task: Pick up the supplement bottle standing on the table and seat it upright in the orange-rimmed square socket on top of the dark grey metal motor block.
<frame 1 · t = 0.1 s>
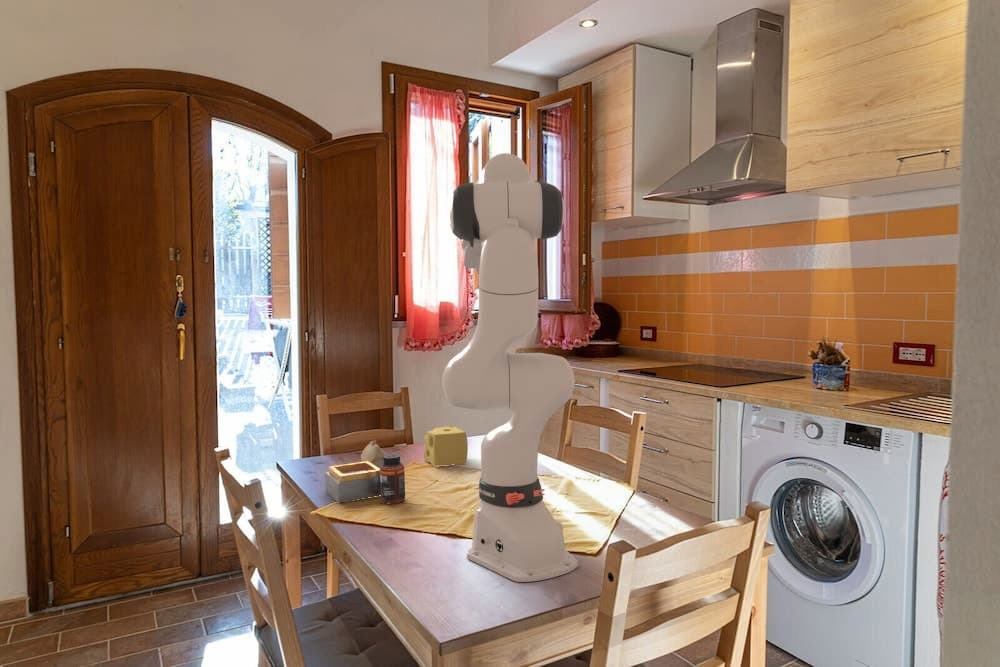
hand: (500, 280, 182), 54 cm above the table, tool tilted 30°, fingers open, 8 cm apart
motor block: (355, 493, 167), on the table
cheese: (445, 463, 197), on the table
supplement bottle: (393, 502, 160), on the table
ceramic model: (374, 476, 184), on the table
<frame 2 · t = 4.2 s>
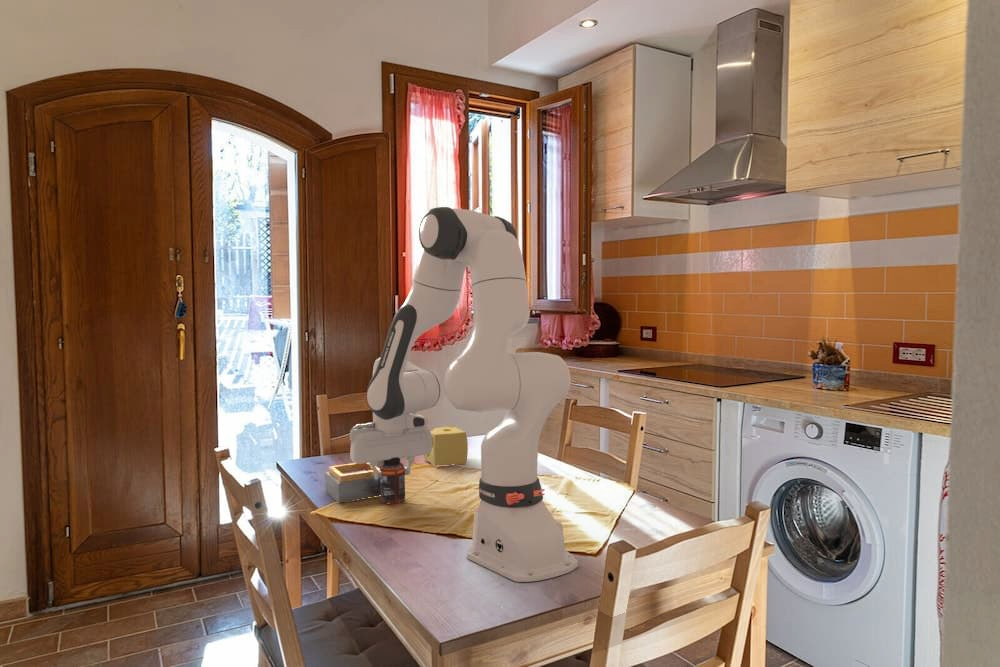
hand: (392, 476, 160), 6 cm above the table, tool pointing down, fingers closed on supplement bottle, 6 cm apart
supplement bottle: (393, 501, 160), on the table, touching gripper
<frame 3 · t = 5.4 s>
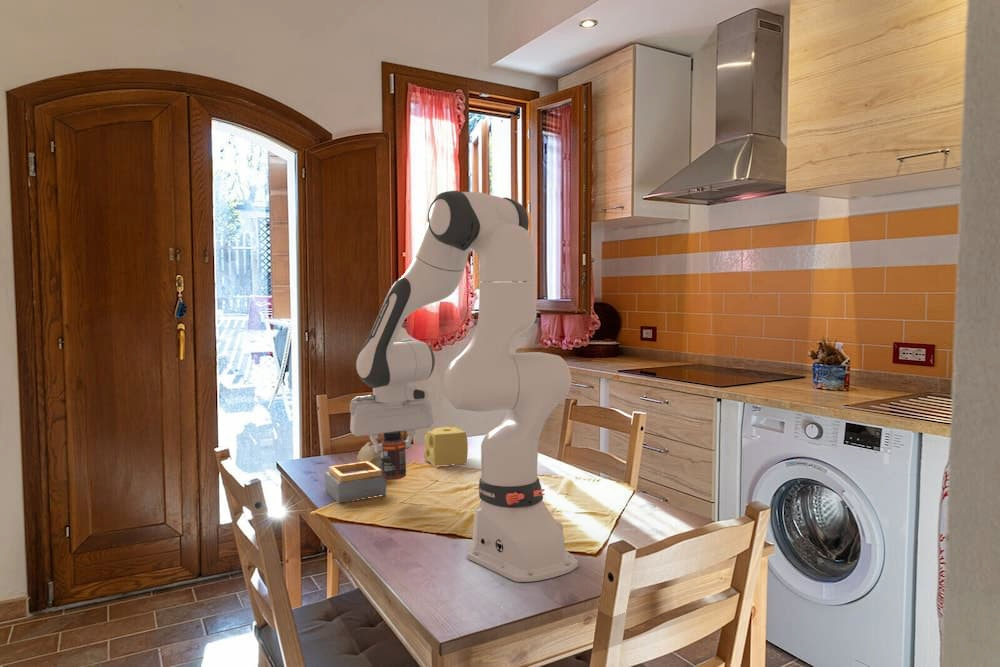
hand: (393, 450, 159), 13 cm above the table, tool pointing down, fingers closed on supplement bottle, 6 cm apart
supplement bottle: (393, 478, 159), point 6 cm above the table, touching gripper
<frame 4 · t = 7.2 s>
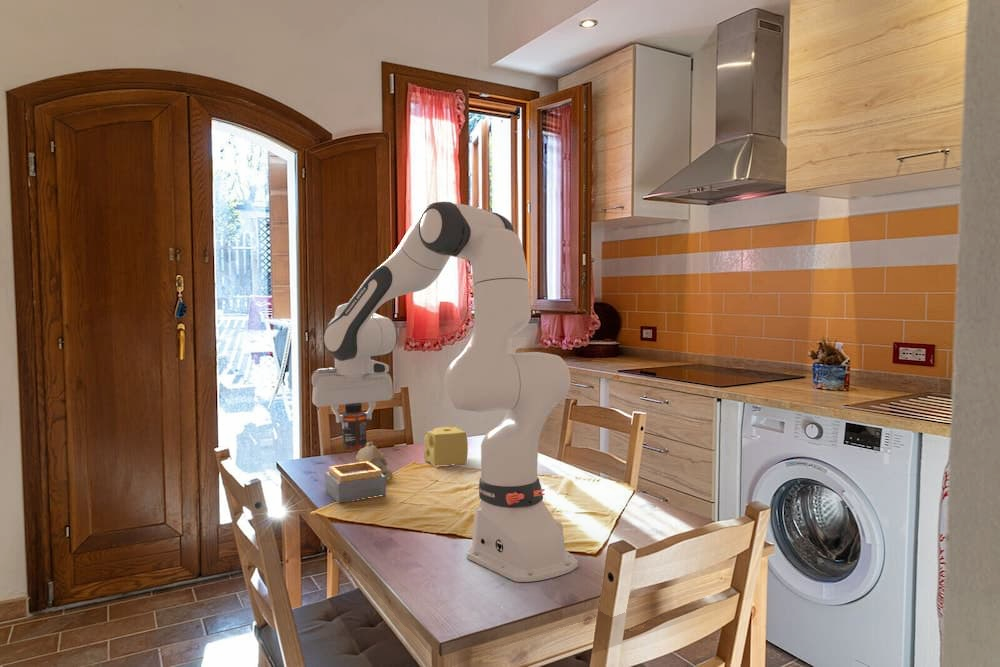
hand: (354, 420, 166), 19 cm above the table, tool pointing down, fingers closed on supplement bottle, 6 cm apart
supplement bottle: (354, 448, 166), point 12 cm above the table, touching gripper
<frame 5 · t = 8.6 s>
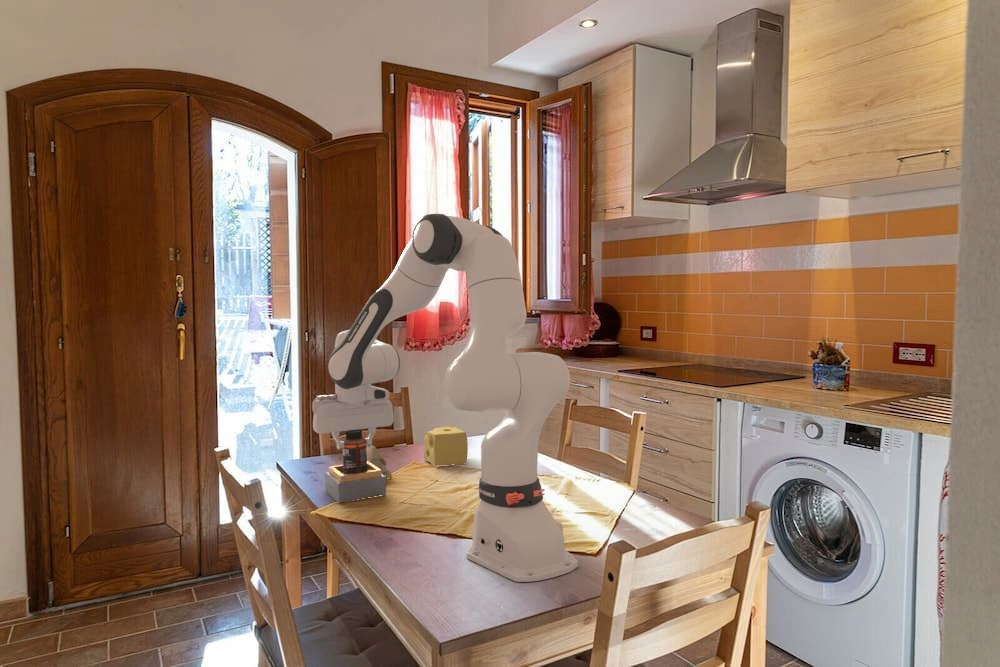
hand: (354, 446, 166), 12 cm above the table, tool pointing down, fingers closed on supplement bottle, 6 cm apart
supplement bottle: (355, 474, 166), point 5 cm above the table, touching gripper, motor block
when the fingers open (12 cm above the table, at t = 8.8 s): supplement bottle stays where it is, resting on motor block.
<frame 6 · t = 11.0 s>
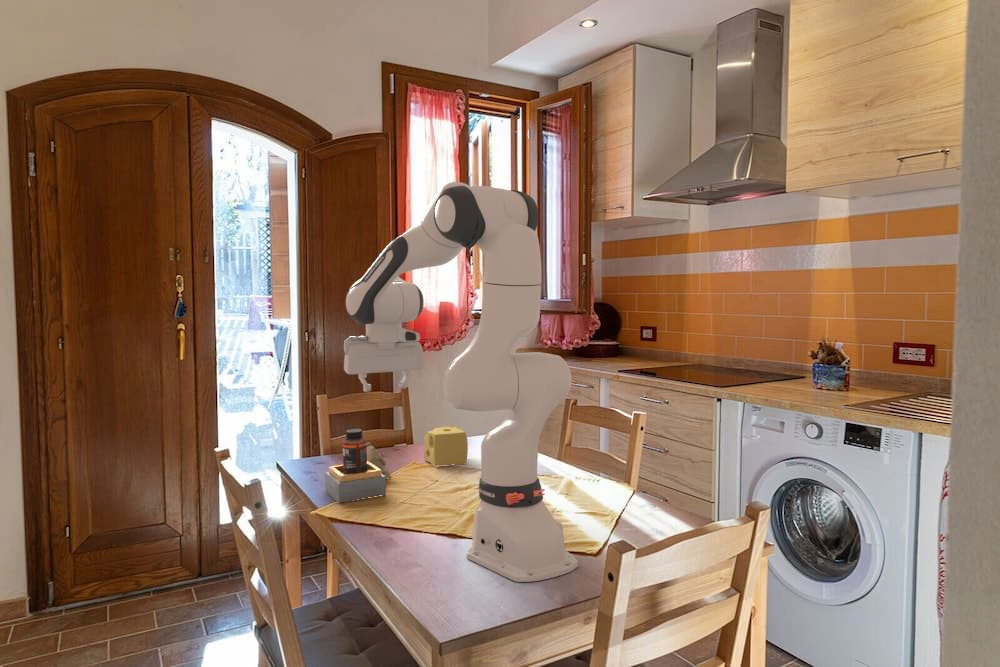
hand: (385, 389, 164), 27 cm above the table, tool pointing down, fingers open, 8 cm apart
supplement bottle: (355, 475, 167), point 5 cm above the table, touching motor block
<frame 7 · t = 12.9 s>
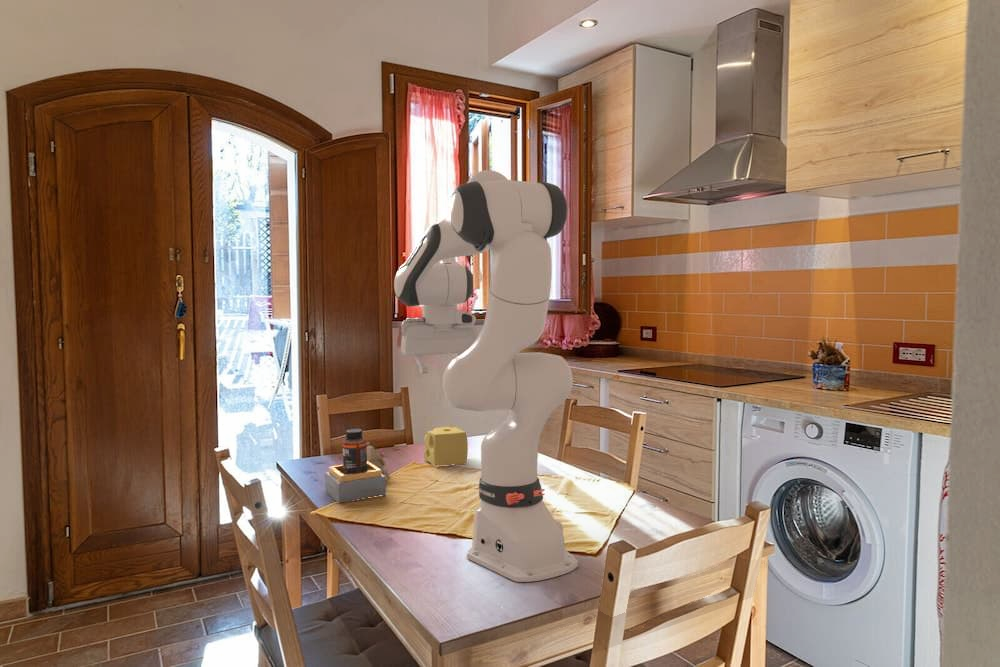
hand: (440, 372, 164), 31 cm above the table, tool pointing down, fingers open, 8 cm apart
at the end: supplement bottle 0.1 cm off-centre on the motor block, point 4.8 cm above the motor block's base; supplement bottle tilted 0°; the gripper is holding nothing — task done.
